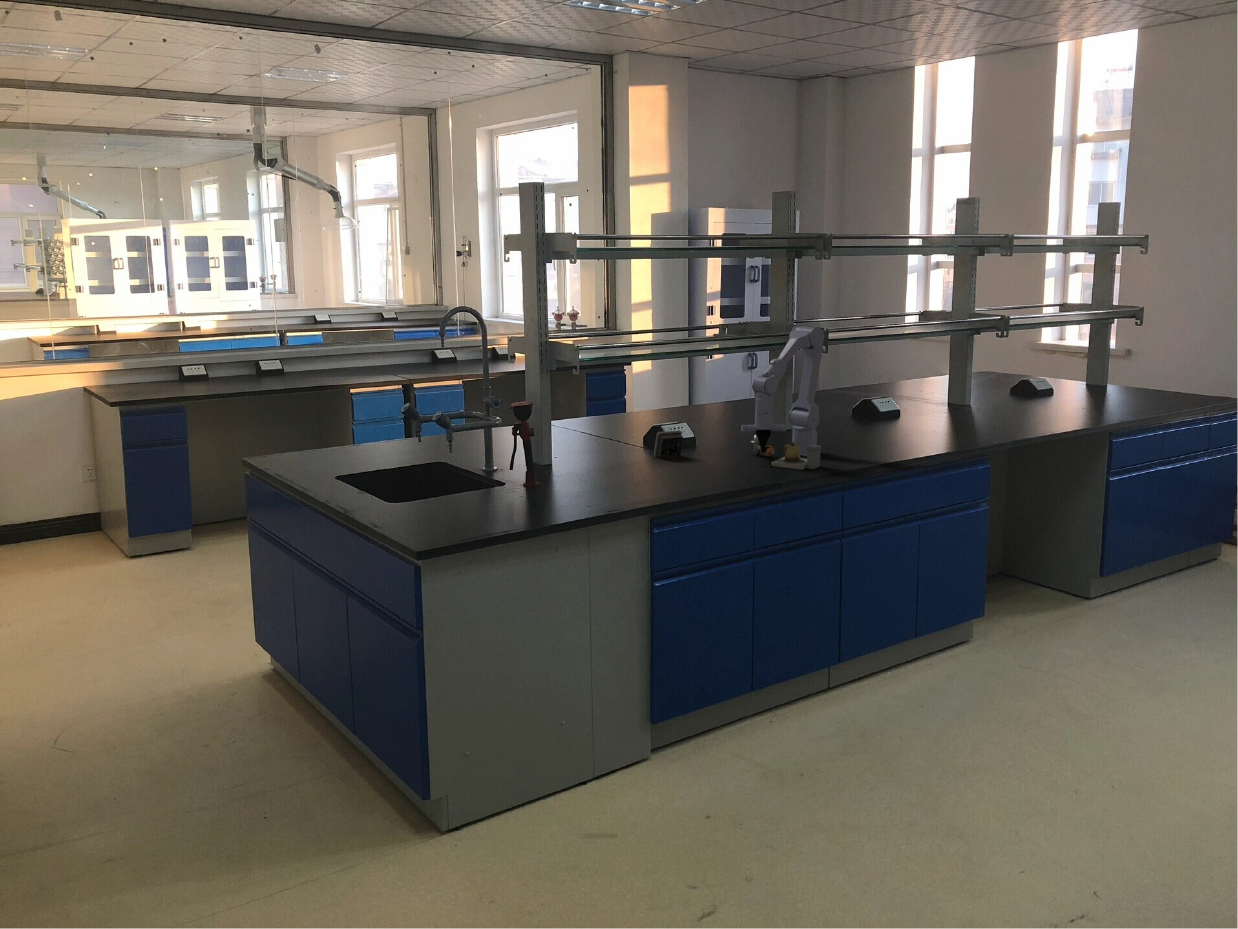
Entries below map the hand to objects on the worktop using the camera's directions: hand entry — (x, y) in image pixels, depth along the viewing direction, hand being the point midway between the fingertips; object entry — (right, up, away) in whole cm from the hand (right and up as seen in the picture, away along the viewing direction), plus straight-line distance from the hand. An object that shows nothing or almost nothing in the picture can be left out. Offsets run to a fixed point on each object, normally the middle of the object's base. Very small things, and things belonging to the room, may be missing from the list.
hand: (762, 452), depth 341 cm
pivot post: (0, -1, +10) cm, 10 cm away
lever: (+1, -1, +4) cm, 4 cm away
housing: (+9, -3, -5) cm, 11 cm away
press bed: (+11, -4, -6) cm, 13 cm away
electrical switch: (-31, -2, +8) cm, 32 cm away
